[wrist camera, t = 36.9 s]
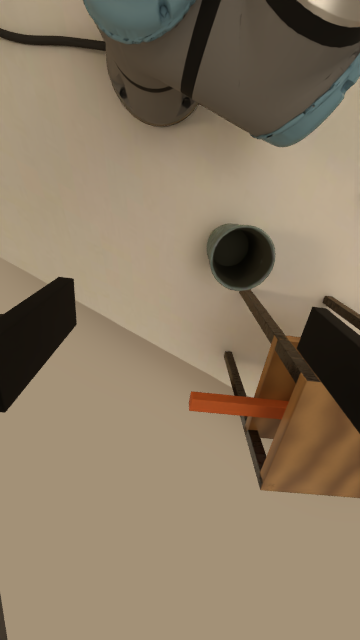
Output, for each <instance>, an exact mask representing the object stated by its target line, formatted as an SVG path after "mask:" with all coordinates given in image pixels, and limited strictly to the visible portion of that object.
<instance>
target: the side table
mask: <svg viewBox="0 0 360 640" xmlns="http://www.w3.org/2000/svg"><path fill="white" fill-rule="evenodd" d="M239 293H240V295H241V296H242V298H243V300H244V301H245V303H246V304H247V306H248V308H249V309H250V311H251V312H252V314H253V316H254V317H255V319H256V320H257V322H258V324H259V325H260V327H261V329H262V330H263V332H264V333H265V335H266V337H267V338H268V340H269V341H270V343H271V347H270V350H269V353H268V356H267V359H266V362H265V365H264V368H263V371H262V374H261V377H260V380H259V384H258V387H257V390H256V393H255V396H254V398H262V399H272V400H282V401H289V402H288V405H287V407H286V410H285V412H284V415H283V417H282V419H271V418H261V417H250V416H240V417H241V421H242V424H243V428H244V432H245V435H246V439H247V442H248V446H249V450H250V454H251V457H252V461H253V464H254V468H255V472H256V476H257V479H258V483H259V486H260V490H265V491H278V492H290V493H303V494H316V495H328V496H341V497H354V498H360V434H359V432H358V431H357V430H356V428H355V427H354V426H353V424H352V423H351V422H350V420H349V419H348V418H347V416H346V415H345V413H344V412H343V411H342V409H341V408H340V407H339V405H338V404H337V403H336V401H335V400H334V399H333V397H332V396H331V395H330V393H329V392H328V390H327V389H326V388H325V386H324V385H323V384H322V382H321V381H320V380H319V378H318V377H317V376H316V374H315V373H314V372H313V370H312V369H311V367H310V366H309V365H308V363H307V362H306V361H305V359H304V358H303V357H302V355H301V354H300V353H299V351H298V350H297V349H296V348H297V346H298V343H299V341H300V338H301V337H293V336H286V335H285V334H284V333H283V332H282V330H281V329H280V328H279V326H278V325H277V324H276V322H275V321H274V320H273V318H272V317H271V316H270V315H269V313H268V312H267V311H266V309H265V308H264V307H263V305H262V304H261V303H260V301H259V300H258V299H257V298H256V296H255V295H254V294H253V292H252V291H251V290H250V289H249V290H244V291H239ZM323 303H324V304H325V305H326V306H328V307H329V308H331V309H332V310H333V311H335V312H336V313H337V314H339V315H340V316H341V317H343V318H344V319H345V320H347V321H348V322H350V323H351V324H352V325H354V326H355V327H356V328H358V329H359V330H360V314H358V313H356V312H355V311H353V310H352V309H350V308H349V307H347V306H346V305H344V304H343V303H341V302H340V301H338V300H336V299H335V298H333V297H331V296H325V298H324V300H323ZM224 359H225V362H226V366H227V370H228V373H229V377H230V381H231V384H232V388H233V392H234V395H235V396H242V397H246V394H245V391H244V388H243V385H242V382H241V379H240V376H239V373H238V370H237V367H236V364H235V361H234V358H233V355H232V352H226V351H225V354H224ZM260 438H269V439H273V442H272V444H271V447H270V449H269V452H268V454H267V457H266V454H265V451H264V448H263V445H262V442H261V439H260Z"/></svg>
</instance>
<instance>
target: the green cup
mask: <svg viewBox="0 0 360 640" xmlns="http://www.w3.org/2000/svg"><path fill="white" fill-rule="evenodd" d="M207 255H208V259H209V262H210V267H211V271H212V274H213V275H214V277H215V279H216V280H217V281H218V282H219V283H220V284H221V285H223V286H224V287H226V288H228V289H230V290H235V291H244V290H249V289H252V288H254V287H256V286H258V285H259V284H261V283H262V282H263V281H264V280H265V279H266V278H267V277H268V275H269V274H270V272H271V270H272V268H273V265H274V262H275V247H274V244H273V242H272V240H271V238H270V237H269V236H268V235H267V234H266V233H265V232H264V231H263V230H261V229H259V228H257V227H255V226H250V225H238V224H225V225H222V226H220V227H218V228H217V229H215V230H214V231H213V232H212V234H211V235H210V237H209V239H208V242H207Z"/></svg>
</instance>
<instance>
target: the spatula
mask: <svg viewBox="0 0 360 640" xmlns="http://www.w3.org/2000/svg"><path fill="white" fill-rule="evenodd" d="M288 402H289V401H282V400H272V399H262V398H252V397H242V396H231V395H222V394H212V393H201V392H191V395H190V400H189V410H190V411H198V412H208V413H219V414H229V415H240V416H250V417H261V418H271V419H282V417H283V415H284V412H285V410H286V407H287V405H288Z"/></svg>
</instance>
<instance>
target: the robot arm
mask: <svg viewBox="0 0 360 640" xmlns="http://www.w3.org/2000/svg"><path fill="white" fill-rule="evenodd" d="M83 1H84V4H85V7H86V9H87V11H88V13H89V15H90V16H91V18H92V19H93V20H94V22H95V24H96V25H97V27H98V29H99V31H100V33H101V35H102V37H103V39H104V41H105V42H104V41H97V40H89V39H81V38H73V37H64V36H33V35H23V34H17V33H13V32H9V31H6V30H3V29H1V28H0V37H2V38H4V39H8V40H11V41H14V42H19V43H24V44H34V45H65V46H74V47H82V48H89V49H97V50H104V51H106V61H107V67H108V72H109V76H110V80H111V82H112V85H113V87H114V90H115V92H116V94H117V96H118V97H119V99H120V100H121V102H122V104H123V105H124V106H125V108H126V109H127V110H128V111H129V112H130V113H131V114H132V115H133V116H134V117H136V118H137V119H139V120H140V121H142V122H144V123H146V124H149V125H153V126H160V127H161V126H170V125H173V124H176V123H178V122H180V121H182V120H183V119H185V118H186V117H187V116H189V115H190V114H191V113H192V112H193V111H194V109H195V108H196V107H197V105H198V104H201V105H202V106H204V107H206V108H207V109H209V110H211V111H213V112H214V113H216V114H218V115H219V116H221V117H223V118H224V119H226V120H228V121H230V122H231V123H233V124H235V125H236V126H238V127H240V128H241V129H243V130H245V131H247V132H248V133H250V135H251V136H252V137H254V138H257V139H262V140H264V141H266V142H268V143H270V144H272V145H274V146H277V147H288V146H291V145H293V144H295V143H297V142H299V141H301V140H302V139H304V138H305V137H306V136H308V135H309V134H310V133H311V132H313V131H314V130H315V129H316V128H317V127H318V126H319V125H320V124H321V123H322V122H323V121H324V120H325V119H326V118H327V117H328V116H329V115H330V114H331V113H332V112H333V111H334V110H335V108H336V107H337V106H338V105H339V104H340V103H341V101H342V100H343V99H344V95H345V93H346V91H347V90H348V89H349V88H350V87H351V86H352V85H354V84H355V83H356V81H357V80H358V78H359V77H360V0H83ZM75 326H76V310H75V293H74V279H72V278H64V277H58V278H57V279H55V280H54V281H52V282H51V283H49V284H48V285H46V286H45V287H43V288H42V289H40V290H39V291H37V292H36V293H34V294H33V295H31V296H30V297H28V298H27V299H25V300H24V301H22V302H21V303H19V304H18V305H17V306H15V307H14V308H12V309H11V310H9V311H8V312H6V313H5V314H0V412H6V411H7V409H8V408H9V407H10V406H11V405H12V403H13V402H14V401H15V400H16V398H17V397H18V396H19V395H20V394H21V392H22V391H23V390H24V389H25V387H26V386H27V385H28V384H29V382H30V381H31V380H32V379H33V377H34V376H35V375H36V374H37V373H38V371H39V370H40V369H41V368H42V366H43V365H44V364H45V363H46V361H47V360H48V359H49V358H50V356H51V355H52V354H53V353H54V351H55V350H56V349H57V348H58V347H59V345H60V344H61V343H62V342H63V340H64V339H65V338H66V337H67V336H68V334H69V333H70V332H71V331H72V329H73V328H74V327H75ZM296 349H297V350H298V351H299V353H300V354H301V355H302V357H303V358H304V359H305V361H306V362H307V363H308V365H309V366H310V367H311V369H312V370H313V372H314V373H315V374H316V376H317V377H318V378H319V380H320V381H321V382H322V384H323V385H324V386H325V388H326V389H327V390H328V392H329V393H330V395H331V396H332V397H333V399H334V400H335V401H336V403H337V404H338V405H339V407H340V408H341V409H342V411H343V412H344V413H345V415H346V416H347V418H348V419H349V420H350V422H351V423H352V424H353V426H354V427H355V428H356V430H357V431H358V432H359V434H360V335H359V334H357V333H356V332H355V331H353V330H352V329H351V328H350V327H348V326H347V325H346V324H345V323H343V322H342V321H341V320H340V319H338V318H337V317H336V316H335V315H333V314H332V313H331V312H330V311H328V310H327V309H326V308H318V307H312V309H311V312H310V315H309V317H308V320H307V322H306V325H305V328H304V330H303V333H302V335H301V338H300V341H299V343H298V346H297V348H296ZM0 640H7V634H6V628H5V621H4V615H3V608H2V602H1V596H0Z"/></svg>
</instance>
